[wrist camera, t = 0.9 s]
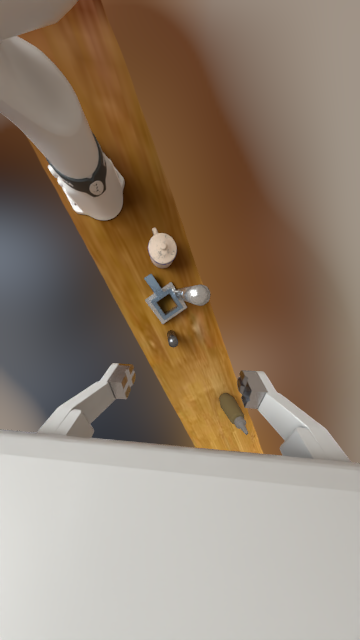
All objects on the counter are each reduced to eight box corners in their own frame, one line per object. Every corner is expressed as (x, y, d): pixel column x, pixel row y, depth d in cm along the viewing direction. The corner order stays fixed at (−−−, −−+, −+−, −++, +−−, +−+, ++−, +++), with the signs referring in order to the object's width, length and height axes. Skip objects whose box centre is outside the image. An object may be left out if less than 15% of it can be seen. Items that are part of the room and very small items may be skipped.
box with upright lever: (135, 286, 49) (111, 280, 24) (168, 263, 49) (178, 234, 24) (162, 323, 54) (166, 350, 29) (192, 302, 54) (221, 312, 29)
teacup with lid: (177, 264, 50) (182, 256, 39) (155, 272, 49) (154, 266, 38) (165, 231, 47) (168, 212, 36) (142, 239, 46) (137, 222, 35)
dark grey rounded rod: (165, 333, 55) (166, 342, 46) (172, 328, 55) (174, 336, 46) (169, 339, 56) (172, 349, 46) (176, 334, 56) (180, 343, 46)
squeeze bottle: (220, 406, 69) (240, 444, 51) (215, 395, 67) (234, 431, 49) (233, 399, 69) (258, 435, 52) (228, 388, 67) (253, 421, 50)
